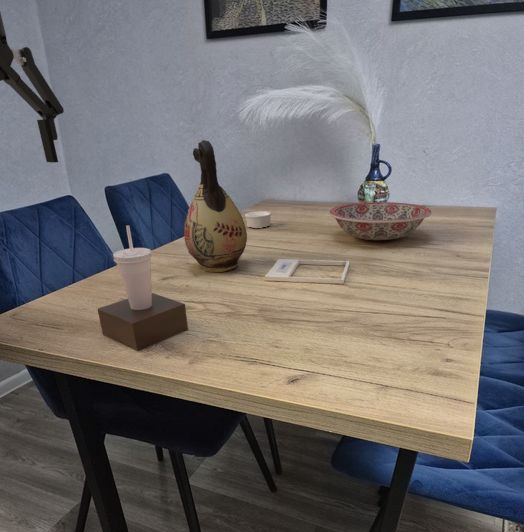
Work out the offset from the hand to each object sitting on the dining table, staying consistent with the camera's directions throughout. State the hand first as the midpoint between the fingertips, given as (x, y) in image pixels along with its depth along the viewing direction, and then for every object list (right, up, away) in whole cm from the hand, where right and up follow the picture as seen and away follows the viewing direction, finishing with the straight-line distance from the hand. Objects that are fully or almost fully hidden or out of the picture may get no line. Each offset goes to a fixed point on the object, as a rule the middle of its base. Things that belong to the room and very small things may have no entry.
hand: (11, 166), depth 76 cm
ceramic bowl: (+75, +4, +65) cm, 99 cm away
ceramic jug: (+29, -9, +44) cm, 54 cm away
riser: (+19, -26, +10) cm, 34 cm away
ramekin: (+39, +13, +87) cm, 96 cm away
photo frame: (+51, -11, +38) cm, 65 cm away
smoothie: (+19, -22, +8) cm, 30 cm away
